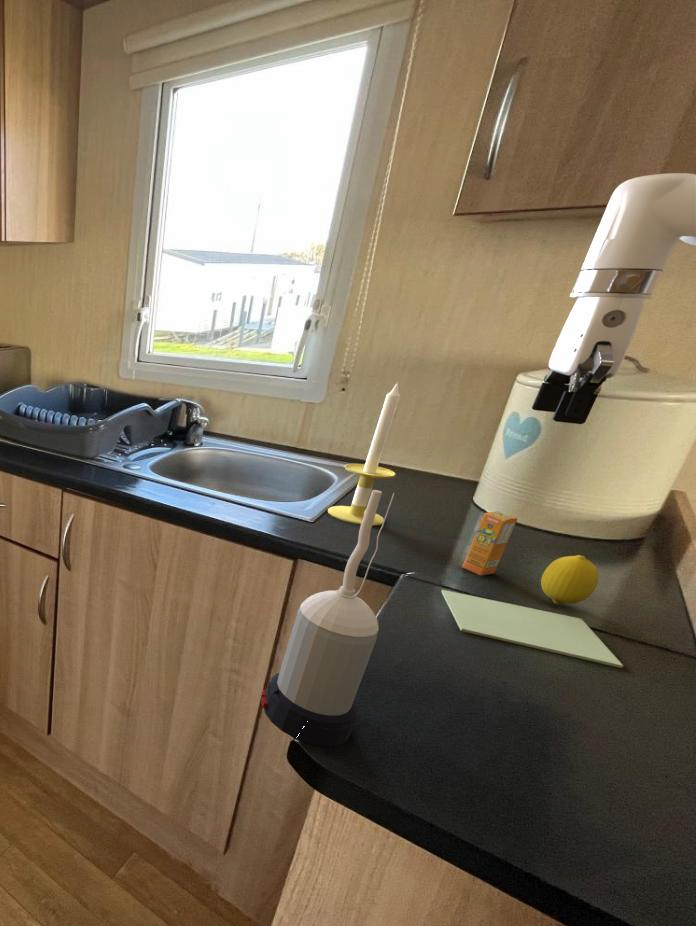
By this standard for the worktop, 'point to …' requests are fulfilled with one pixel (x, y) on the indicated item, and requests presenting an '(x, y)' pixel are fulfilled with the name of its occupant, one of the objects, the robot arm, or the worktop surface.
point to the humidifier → (326, 657)
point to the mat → (528, 627)
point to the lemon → (569, 579)
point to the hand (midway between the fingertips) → (555, 416)
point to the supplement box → (489, 543)
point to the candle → (370, 467)
